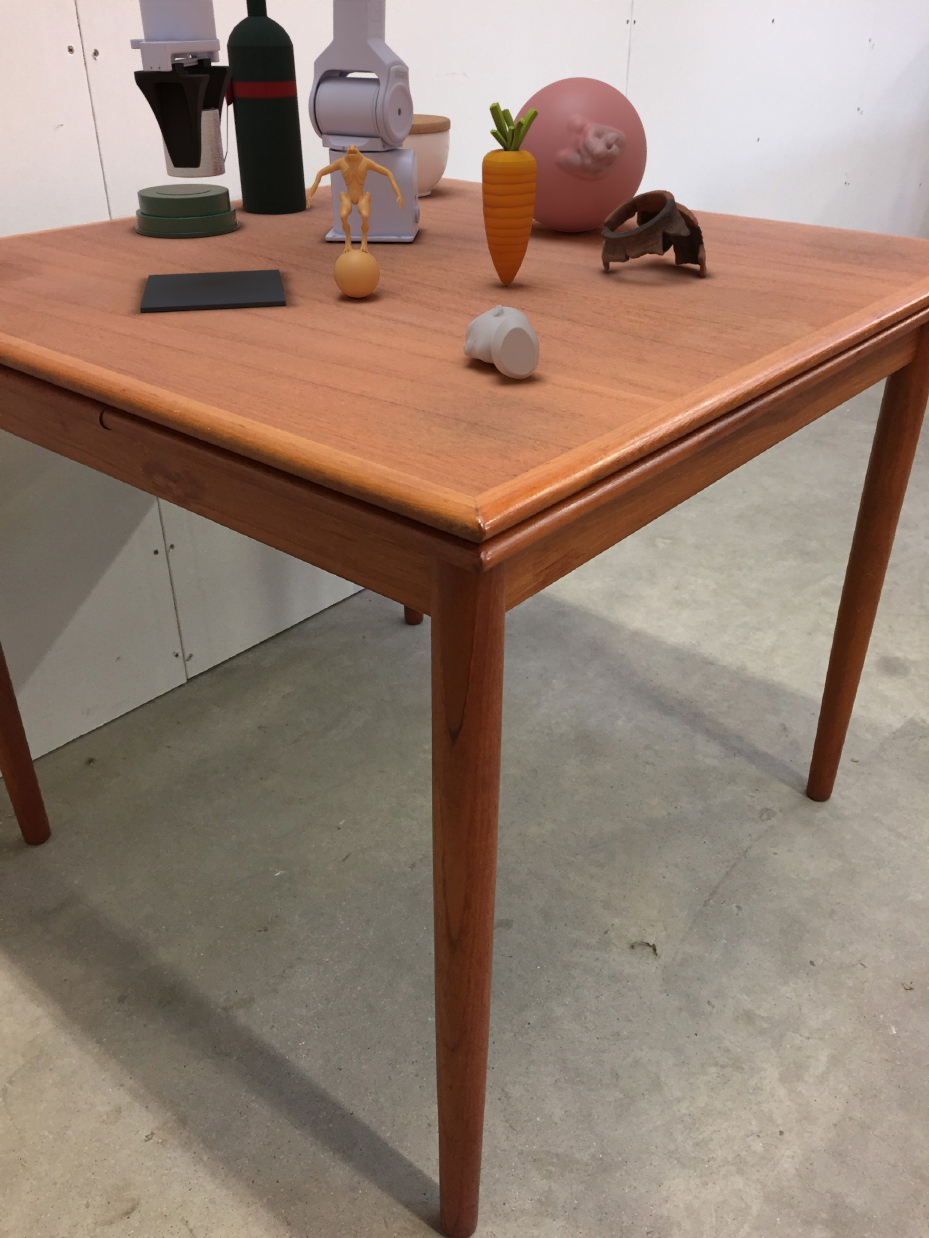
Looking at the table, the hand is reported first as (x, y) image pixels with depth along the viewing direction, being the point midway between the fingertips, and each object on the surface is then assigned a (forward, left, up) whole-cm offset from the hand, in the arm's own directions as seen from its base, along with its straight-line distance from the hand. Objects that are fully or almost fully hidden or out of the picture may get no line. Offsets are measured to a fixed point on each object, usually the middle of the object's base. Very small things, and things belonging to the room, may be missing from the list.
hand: (196, 163), depth 86 cm
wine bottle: (+4, -40, -10) cm, 41 cm away
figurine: (-14, +2, -10) cm, 18 cm away
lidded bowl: (-12, -53, -10) cm, 55 cm away
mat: (-1, +2, -10) cm, 11 cm away
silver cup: (0, 0, -1) cm, 1 cm away
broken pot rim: (-41, -9, -10) cm, 43 cm away
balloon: (-34, -26, -10) cm, 44 cm away
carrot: (-27, -2, -10) cm, 29 cm away
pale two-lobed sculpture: (-27, +22, -10) cm, 36 cm away
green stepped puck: (+10, -27, -10) cm, 30 cm away
